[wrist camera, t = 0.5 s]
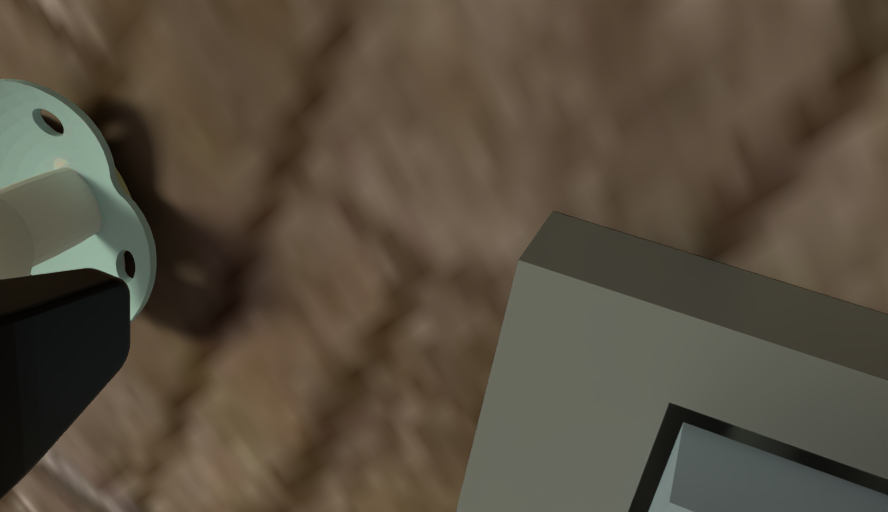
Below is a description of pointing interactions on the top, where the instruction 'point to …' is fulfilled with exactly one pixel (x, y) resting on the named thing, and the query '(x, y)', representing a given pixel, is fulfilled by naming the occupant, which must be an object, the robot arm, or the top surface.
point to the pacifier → (65, 196)
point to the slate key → (750, 481)
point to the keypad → (665, 374)
